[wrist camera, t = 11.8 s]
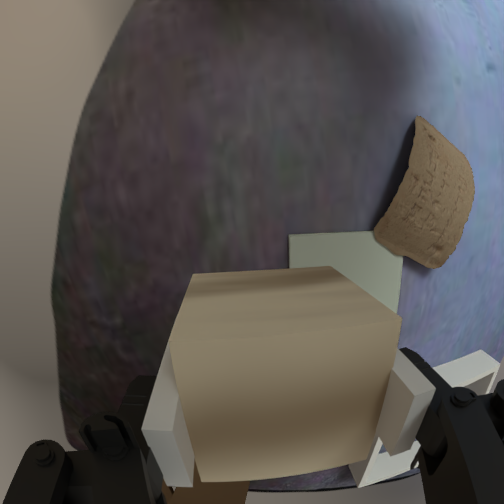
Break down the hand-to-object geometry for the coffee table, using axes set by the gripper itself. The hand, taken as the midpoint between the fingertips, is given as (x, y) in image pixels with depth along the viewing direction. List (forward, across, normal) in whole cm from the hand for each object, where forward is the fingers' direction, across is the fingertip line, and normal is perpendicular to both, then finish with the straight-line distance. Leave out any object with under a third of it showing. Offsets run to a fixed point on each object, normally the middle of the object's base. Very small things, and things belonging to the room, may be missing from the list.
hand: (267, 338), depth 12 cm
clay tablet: (+14, +19, +6) cm, 25 cm away
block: (+1, 0, 0) cm, 1 cm away
